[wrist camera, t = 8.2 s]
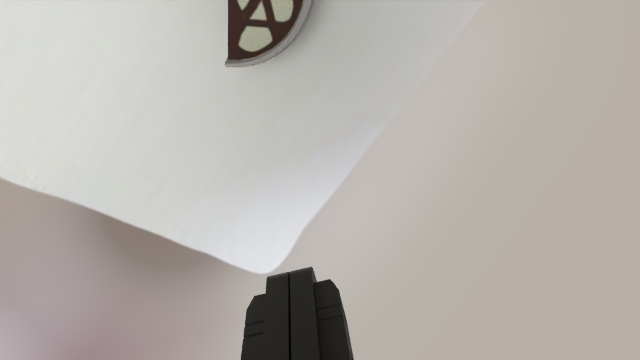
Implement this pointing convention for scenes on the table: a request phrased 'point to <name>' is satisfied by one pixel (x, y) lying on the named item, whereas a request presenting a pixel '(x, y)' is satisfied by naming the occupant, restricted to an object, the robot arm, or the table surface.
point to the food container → (263, 28)
